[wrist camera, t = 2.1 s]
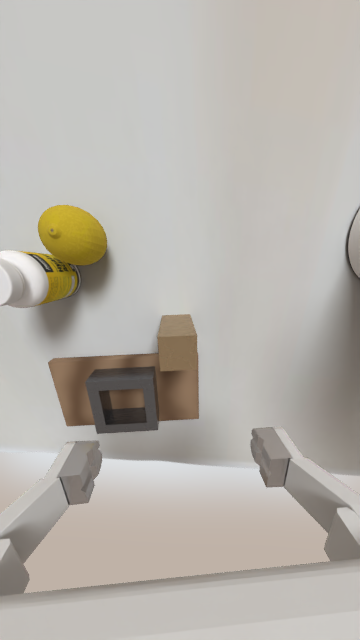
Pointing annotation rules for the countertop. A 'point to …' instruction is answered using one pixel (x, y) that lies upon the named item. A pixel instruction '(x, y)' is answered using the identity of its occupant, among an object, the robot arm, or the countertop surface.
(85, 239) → the lemon
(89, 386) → the collar
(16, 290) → the supplement bottle
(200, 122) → the countertop surface
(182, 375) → the dock board
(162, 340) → the square bar
